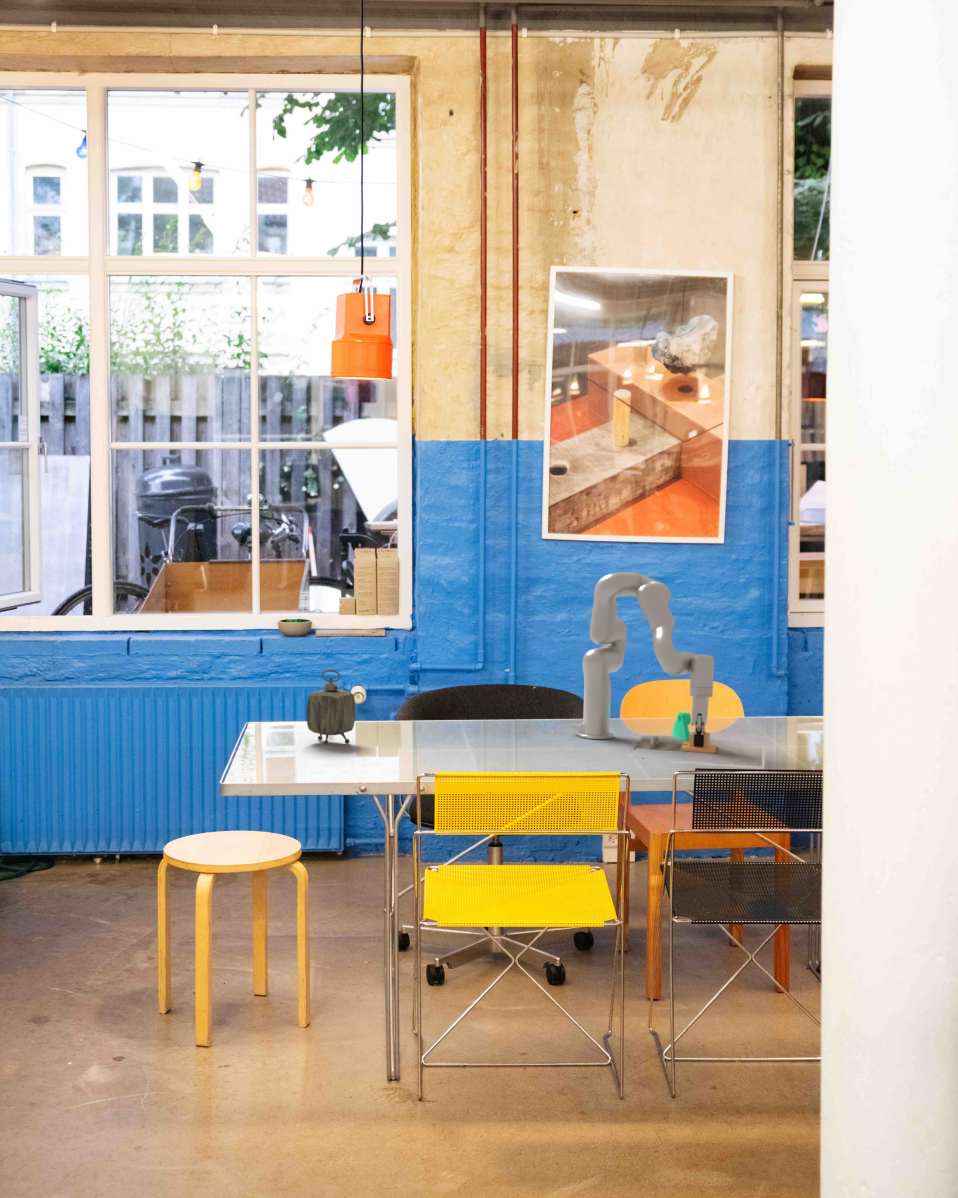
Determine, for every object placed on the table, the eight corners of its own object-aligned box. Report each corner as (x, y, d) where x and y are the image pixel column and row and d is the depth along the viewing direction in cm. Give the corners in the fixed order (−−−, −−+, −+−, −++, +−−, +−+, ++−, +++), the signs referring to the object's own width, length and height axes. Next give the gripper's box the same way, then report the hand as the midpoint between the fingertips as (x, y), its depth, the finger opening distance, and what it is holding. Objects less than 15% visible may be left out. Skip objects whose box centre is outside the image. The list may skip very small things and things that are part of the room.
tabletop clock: (354, 743, 384) (356, 669, 383) (340, 748, 376) (341, 672, 375) (318, 739, 391) (319, 666, 389) (303, 743, 382) (304, 669, 381)
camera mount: (706, 744, 401) (707, 715, 400) (685, 744, 399) (686, 715, 398) (692, 737, 412) (693, 709, 412) (672, 738, 411) (673, 709, 410)
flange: (714, 753, 379) (715, 737, 378) (681, 750, 381) (681, 735, 381) (716, 747, 389) (717, 732, 389) (683, 744, 392) (684, 729, 392)
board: (634, 750, 385) (634, 739, 384) (638, 744, 396) (638, 732, 396) (716, 756, 378) (716, 744, 378) (717, 750, 390) (718, 738, 390)
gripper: (691, 687, 393) (689, 739, 395) (688, 694, 377) (686, 748, 378) (713, 688, 392) (711, 740, 393) (711, 696, 375) (709, 750, 376)
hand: (699, 744), depth 385 cm, fingers closed on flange, 6 cm apart
